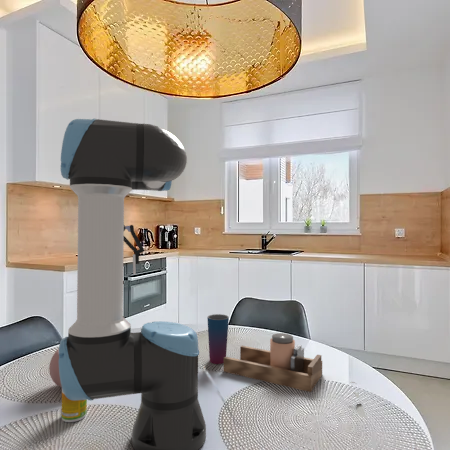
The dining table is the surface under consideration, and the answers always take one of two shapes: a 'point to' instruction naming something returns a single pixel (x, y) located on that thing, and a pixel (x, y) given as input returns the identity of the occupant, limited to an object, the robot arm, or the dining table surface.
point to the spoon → (359, 406)
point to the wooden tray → (273, 369)
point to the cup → (217, 337)
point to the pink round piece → (55, 369)
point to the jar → (281, 350)
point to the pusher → (298, 359)
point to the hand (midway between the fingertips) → (113, 275)
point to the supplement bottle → (73, 409)
